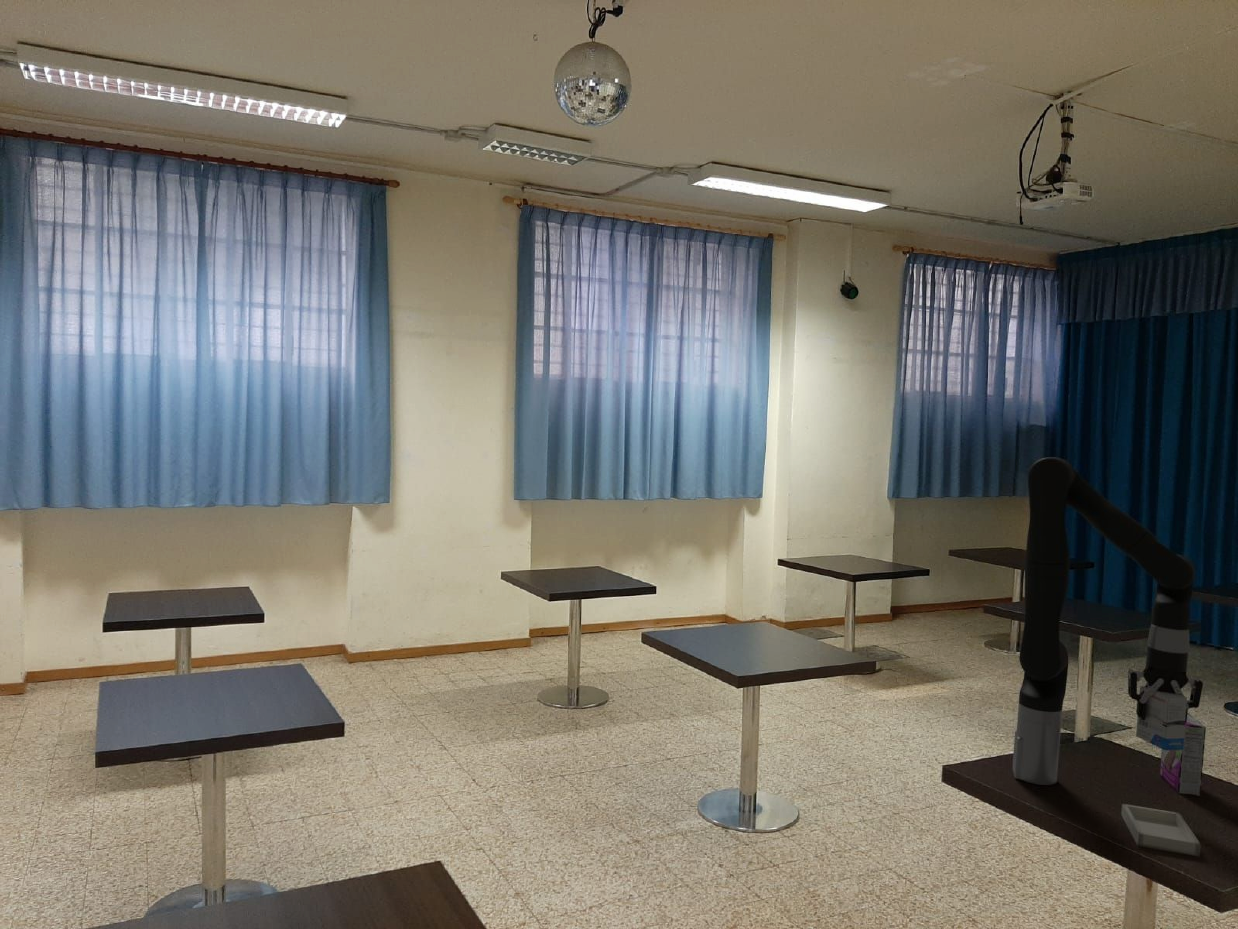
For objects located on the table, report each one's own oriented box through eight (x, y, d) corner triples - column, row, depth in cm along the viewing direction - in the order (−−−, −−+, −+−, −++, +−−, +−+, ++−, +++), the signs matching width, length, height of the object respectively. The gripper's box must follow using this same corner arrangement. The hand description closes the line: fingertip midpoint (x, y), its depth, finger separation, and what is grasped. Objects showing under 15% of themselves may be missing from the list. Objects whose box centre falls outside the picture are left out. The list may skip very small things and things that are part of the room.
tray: (1137, 845, 174) (1138, 833, 174) (1121, 815, 188) (1122, 803, 188) (1199, 856, 171) (1200, 844, 171) (1178, 824, 185) (1179, 813, 185)
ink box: (1184, 751, 188) (1189, 697, 187) (1163, 751, 187) (1169, 697, 186) (1153, 735, 196) (1158, 684, 196) (1134, 736, 196) (1139, 684, 195)
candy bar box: (1157, 775, 212) (1163, 708, 211) (1180, 777, 211) (1186, 710, 210) (1177, 794, 201) (1183, 723, 200) (1201, 797, 200) (1207, 726, 199)
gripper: (1134, 646, 189) (1127, 722, 190) (1211, 655, 185) (1204, 733, 186) (1126, 638, 196) (1119, 711, 197) (1200, 647, 192) (1193, 722, 193)
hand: (1160, 721), depth 192 cm, fingers closed on ink box, 6 cm apart
